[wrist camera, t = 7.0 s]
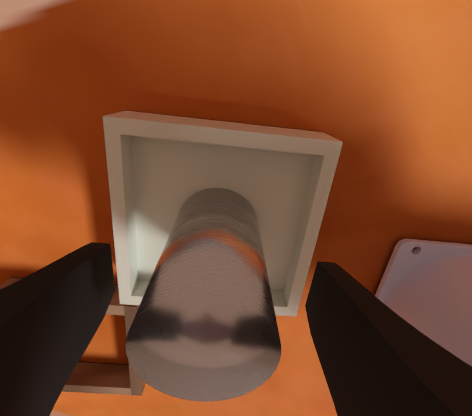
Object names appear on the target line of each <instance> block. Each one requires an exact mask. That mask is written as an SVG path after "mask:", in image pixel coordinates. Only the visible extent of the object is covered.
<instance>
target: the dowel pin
mask: <svg viewBox="0 0 472 416" xmlns="http://www.w3.org/2000/svg"><path fill="white" fill-rule="evenodd" d="M126 355H127V358H128V361H129V363H130V365H131V367H132V368H133V370H134V371H135V372H136V374H137V375H138V376H139V377H140V378H141V379H142V380H143V381H145V382H146V383H147V384H148V385H150V386H152V387H153V388H155V389H156V390H159V391H161V392H163V393H165V394H168V395H170V396H173V397H177V398H181V399H186V400H192V401H220V400H226V399H231V398H235V397H238V396H241V395H244V394H246V393H248V392H250V391H252V390H254V389H256V388H258V387H259V386H260V385H262V384H263V383H264V382H265V381H266V380H268V379H269V378H270V376H271V375H272V374H273V373H274V371H275V369H276V368H277V366H278V363H279V361H280V356H281V343H280V338H279V332H278V327H277V322H276V316H275V311H274V306H273V300H272V295H271V289H270V284H269V279H268V273H267V268H266V263H265V257H264V252H263V247H262V241H261V236H260V230H259V225H258V220H257V215H256V212H255V210H254V208H253V207H252V205H251V204H250V202H249V201H248V200H247V199H246V198H244V197H243V196H242V195H240V194H238V193H237V192H234V191H232V190H229V189H224V188H209V189H204V190H201V191H199V192H197V193H195V194H193V195H192V196H190V197H189V198H188V199H187V200H186V201H185V202H184V203H183V205H182V206H181V208H180V210H179V213H178V215H177V217H176V220H175V222H174V225H173V227H172V229H171V232H170V234H169V236H168V239H167V241H166V244H165V246H164V248H163V251H162V253H161V255H160V258H159V260H158V263H157V265H156V267H155V270H154V272H153V274H152V277H151V279H150V282H149V284H148V286H147V289H146V291H145V293H144V296H143V298H142V301H141V303H140V305H139V308H138V310H137V312H136V315H135V317H134V320H133V322H132V324H131V327H130V329H129V331H128V334H127V338H126Z"/></svg>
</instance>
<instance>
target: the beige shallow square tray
mask: <svg viewBox="0 0 472 416" xmlns="http://www.w3.org/2000/svg"><path fill="white" fill-rule="evenodd" d="M103 126H104V137H105V148H106V159H107V169H108V180H109V191H110V202H111V213H112V224H113V235H114V246H115V257H116V267H117V278H118V289H119V300H120V304H127V305H140V303H141V301H142V298H143V296H144V293H145V291H146V289H147V286H148V284H149V282H150V279H151V277H152V274H153V272H154V270H155V267H156V265H157V263H158V260H159V258H160V255H161V253H162V251H163V248H164V246H165V244H166V241H167V239H168V236H169V234H170V232H171V229H172V227H173V225H174V222H175V220H176V217H177V215H178V213H179V210H180V208H181V206H182V205H183V203H184V202H185V201H186V200H187V199H188V198H189V197H190V196H192V195H193V194H195V193H197V192H199V191H201V190H204V189H209V188H224V189H229V190H232V191H234V192H237V193H238V194H240V195H242V196H243V197H244V198H246V199H247V200H248V201H249V202H250V204H251V205H252V207H253V208H254V210H255V212H256V215H257V220H258V225H259V230H260V236H261V241H262V247H263V252H264V257H265V263H266V268H267V273H268V279H269V284H270V289H271V295H272V300H273V306H274V311H275V315H283V316H297V312H298V308H299V305H300V301H301V297H302V294H303V290H304V286H305V282H306V279H307V275H308V271H309V268H310V264H311V260H312V256H313V253H314V249H315V245H316V241H317V238H318V234H319V230H320V227H321V223H322V219H323V215H324V212H325V208H326V204H327V200H328V197H329V193H330V189H331V186H332V182H333V178H334V174H335V171H336V167H337V163H338V159H339V156H340V152H341V148H342V145H343V142H342V141H340V140H338V139H336V138H334V137H332V136H330V135H328V134H326V133H324V132H316V131H307V130H298V129H289V128H280V127H271V126H261V125H252V124H243V123H234V122H225V121H216V120H207V119H198V118H189V117H180V116H171V115H162V114H153V113H144V112H135V111H122V112H117V113H113V114H109V115H105V116H103Z"/></svg>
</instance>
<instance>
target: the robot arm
mask: <svg viewBox="0 0 472 416" xmlns="http://www.w3.org/2000/svg"><path fill="white" fill-rule="evenodd" d="M414 247H416V248H415V249H414V250H412V249H413V248H414ZM114 292H115V288H114V277H113V267H112V257H111V247H110V244H106V243H94V242H92V243H89V244H87V245H85V246H83V247H81V248H79V249H77V250H75V251H73V252H72V253H70V254H68V255H66V256H64V257H62V258H60V259H59V260H57V261H55V262H53V263H51V264H49V265H47V266H46V267H44V268H42V269H40V270H38V271H36V272H34V273H32V274H31V275H29V276H27V277H25V278H23V279H21V280H19V281H17V282H15V283H13V284H11V285H9V286H7V287H5V288H2V289H0V416H49V415H50V413H51V411H52V409H53V407H54V405H55V403H56V401H57V399H58V397H59V395H60V393H61V391H62V390H63V388H64V386H65V384H66V382H67V381H68V379H69V377H70V376H71V374H72V372H73V370H74V369H75V367H76V365H77V364H78V362H79V360H80V358H81V357H82V355H83V353H84V352H85V350H86V348H87V346H88V345H89V343H90V341H91V340H92V338H93V336H94V334H95V333H96V331H97V329H98V327H99V325H100V324H101V322H102V320H103V318H104V316H105V314H106V311H107V309H108V307H109V304H110V302H111V299H112V297H113V294H114ZM305 306H306V312H307V317H308V323H309V327H310V332H311V336H312V339H313V342H314V345H315V348H316V351H317V354H318V357H319V360H320V363H321V366H322V369H323V372H324V375H325V378H326V381H327V384H328V387H329V390H330V393H331V396H332V399H333V402H334V405H335V409H336V412H337V415H338V416H472V244H461V243H450V242H439V241H428V240H417V239H402V240H400V241H399V242H398V243H397V244H396V246H395V248H394V250H393V253H392V255H391V258H390V260H389V263H388V265H387V267H386V270H385V272H384V275H383V277H382V280H381V282H380V284H379V287H378V289H377V292H376V294H375V296H374V295H373V294H372V293H371V292H369V291H368V290H367V289H366V288H365V287H364V286H362V285H361V284H360V283H359V282H358V281H356V280H355V279H354V278H353V277H352V276H351V275H349V274H348V273H347V272H346V271H344V270H343V269H342V268H341V267H339V266H338V265H337V264H335V263H329V262H317V266H316V269H315V273H314V277H313V280H312V284H311V287H310V291H309V294H308V298H307V302H306V305H305Z"/></svg>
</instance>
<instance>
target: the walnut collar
mask: <svg viewBox="0 0 472 416" xmlns="http://www.w3.org/2000/svg"><path fill="white" fill-rule="evenodd" d="M21 279H23V278H12V277H10V278H9V279H7V280H6V281H5V282H4V283H3V284H2V285H0V289H2V288H5V287H7V286H9V285H11V284H13V283H15V282H17V281H19V280H21ZM114 288H115V292H114V294H113V297H112V299H111V302H110V304H109V307H108V309H107V311H106V314H109V315H123V316H125V327H126V338H127V334H128V331H129V329H130V327H131V324H132V322H133V320H134V317H135V315H136V312H137V310H138V308H139V305H127V304H120V300H119V289H118V285H114ZM128 362H129V361H128ZM145 383H146V382H145V381H143V380H142V379H141V378H140V377H139V376H138V375H137V374H136V372H135V371H134V370H133V368H132V367H131V365H130V363H129V365H120V364H103V363H86V362H78V364H77V365H76V367H75V369H74V370H73V372H72V374H71V376H70V377H69V379H68V381H67V382H66V384H65V386H64V388H63V390H62V391H65V392H84V393H103V394H122V395H142V393H143V390H144V386H145Z"/></svg>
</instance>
